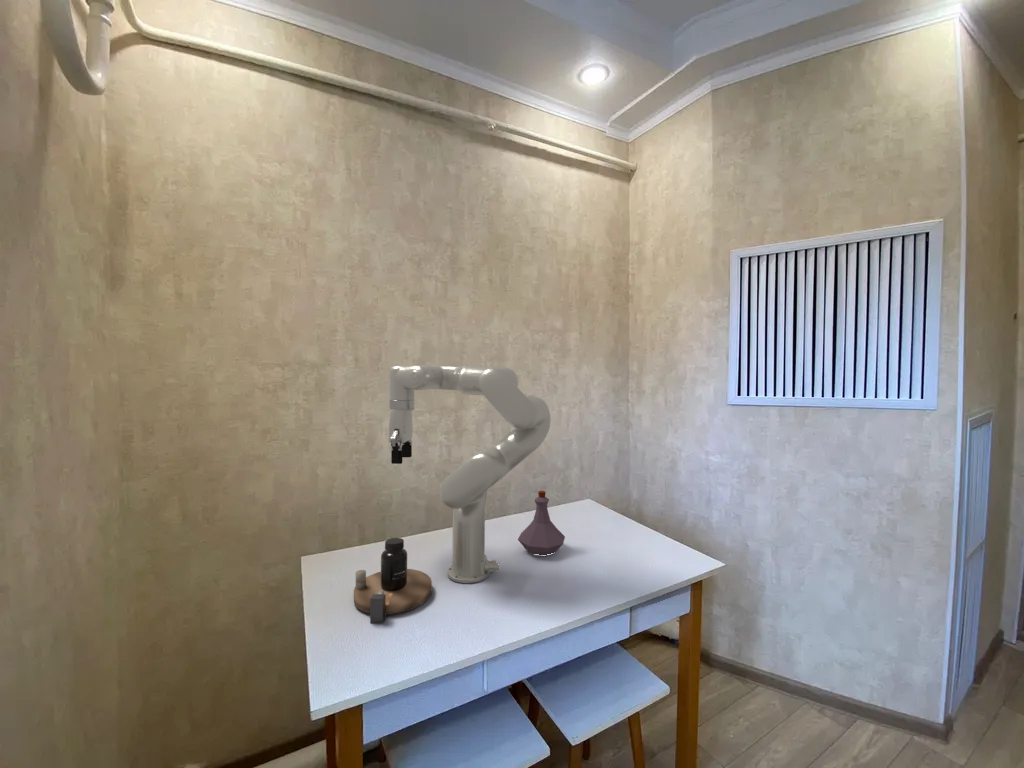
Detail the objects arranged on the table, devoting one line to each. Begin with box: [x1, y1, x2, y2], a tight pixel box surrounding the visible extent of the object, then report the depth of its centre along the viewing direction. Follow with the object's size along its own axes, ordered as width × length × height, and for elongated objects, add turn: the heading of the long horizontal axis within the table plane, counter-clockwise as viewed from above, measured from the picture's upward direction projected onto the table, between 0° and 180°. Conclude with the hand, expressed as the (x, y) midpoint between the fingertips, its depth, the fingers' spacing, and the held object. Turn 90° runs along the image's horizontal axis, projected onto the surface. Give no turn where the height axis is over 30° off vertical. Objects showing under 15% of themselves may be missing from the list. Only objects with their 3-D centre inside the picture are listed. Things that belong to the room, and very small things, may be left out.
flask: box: [517, 490, 566, 555], centre depth 144 cm, size 16×16×20 cm
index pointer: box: [369, 591, 387, 625], centre depth 103 cm, size 3×4×6 cm
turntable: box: [353, 568, 433, 615], centre depth 114 cm, size 20×20×6 cm
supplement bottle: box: [380, 537, 408, 591], centre depth 114 cm, size 7×7×12 cm
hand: (401, 460), depth 133 cm, fingers open, 9 cm apart
